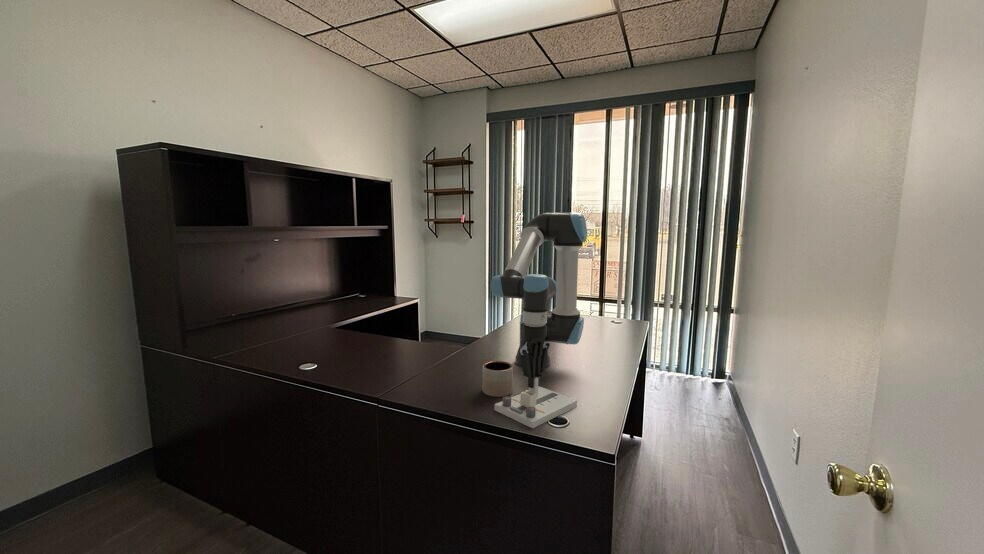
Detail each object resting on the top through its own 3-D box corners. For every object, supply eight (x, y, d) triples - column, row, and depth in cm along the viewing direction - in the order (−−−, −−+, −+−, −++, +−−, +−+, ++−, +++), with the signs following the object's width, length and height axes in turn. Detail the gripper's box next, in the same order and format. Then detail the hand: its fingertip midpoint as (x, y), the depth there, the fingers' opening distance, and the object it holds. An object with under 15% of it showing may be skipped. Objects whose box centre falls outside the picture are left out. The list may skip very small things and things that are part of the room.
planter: (481, 386, 144) (481, 360, 143) (510, 385, 145) (511, 360, 144) (483, 398, 134) (483, 371, 132) (514, 397, 134) (515, 370, 133)
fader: (520, 404, 124) (520, 392, 123) (526, 401, 126) (526, 389, 125) (529, 408, 121) (530, 396, 121) (536, 405, 123) (536, 393, 123)
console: (494, 410, 125) (494, 397, 124) (539, 391, 140) (539, 380, 139) (532, 428, 113) (533, 414, 113) (576, 406, 128) (577, 394, 128)
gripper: (530, 329, 115) (528, 406, 118) (557, 323, 124) (555, 394, 126) (511, 325, 120) (510, 398, 123) (539, 319, 129) (537, 387, 132)
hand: (533, 396), depth 125 cm, fingers closed
